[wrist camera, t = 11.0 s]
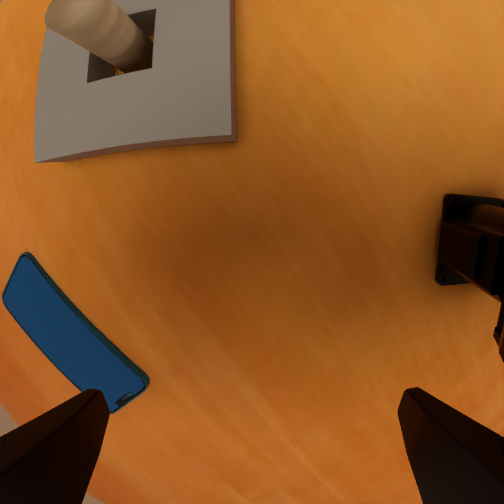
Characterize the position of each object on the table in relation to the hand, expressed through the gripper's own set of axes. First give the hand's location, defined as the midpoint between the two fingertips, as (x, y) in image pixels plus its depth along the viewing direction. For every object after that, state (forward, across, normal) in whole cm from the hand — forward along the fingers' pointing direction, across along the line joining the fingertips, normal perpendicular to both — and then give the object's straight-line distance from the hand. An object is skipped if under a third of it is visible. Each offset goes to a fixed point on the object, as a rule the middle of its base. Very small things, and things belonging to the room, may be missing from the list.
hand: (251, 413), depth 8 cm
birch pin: (+12, +7, -14) cm, 20 cm away
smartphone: (+13, +16, +6) cm, 21 cm away
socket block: (+12, +7, -14) cm, 20 cm away
